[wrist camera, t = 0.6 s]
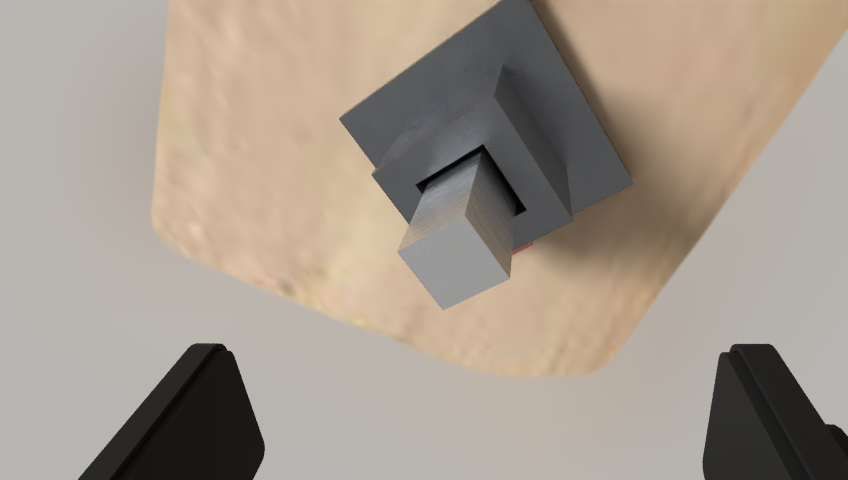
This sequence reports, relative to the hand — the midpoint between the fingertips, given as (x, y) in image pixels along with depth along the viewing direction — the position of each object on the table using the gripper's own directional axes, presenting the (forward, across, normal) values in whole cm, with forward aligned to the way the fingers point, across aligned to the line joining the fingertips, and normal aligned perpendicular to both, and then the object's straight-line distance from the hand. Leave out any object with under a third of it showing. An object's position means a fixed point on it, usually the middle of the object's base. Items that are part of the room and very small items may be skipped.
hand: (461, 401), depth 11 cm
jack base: (+33, +2, +5) cm, 33 cm away
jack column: (+31, +2, +5) cm, 31 cm away
